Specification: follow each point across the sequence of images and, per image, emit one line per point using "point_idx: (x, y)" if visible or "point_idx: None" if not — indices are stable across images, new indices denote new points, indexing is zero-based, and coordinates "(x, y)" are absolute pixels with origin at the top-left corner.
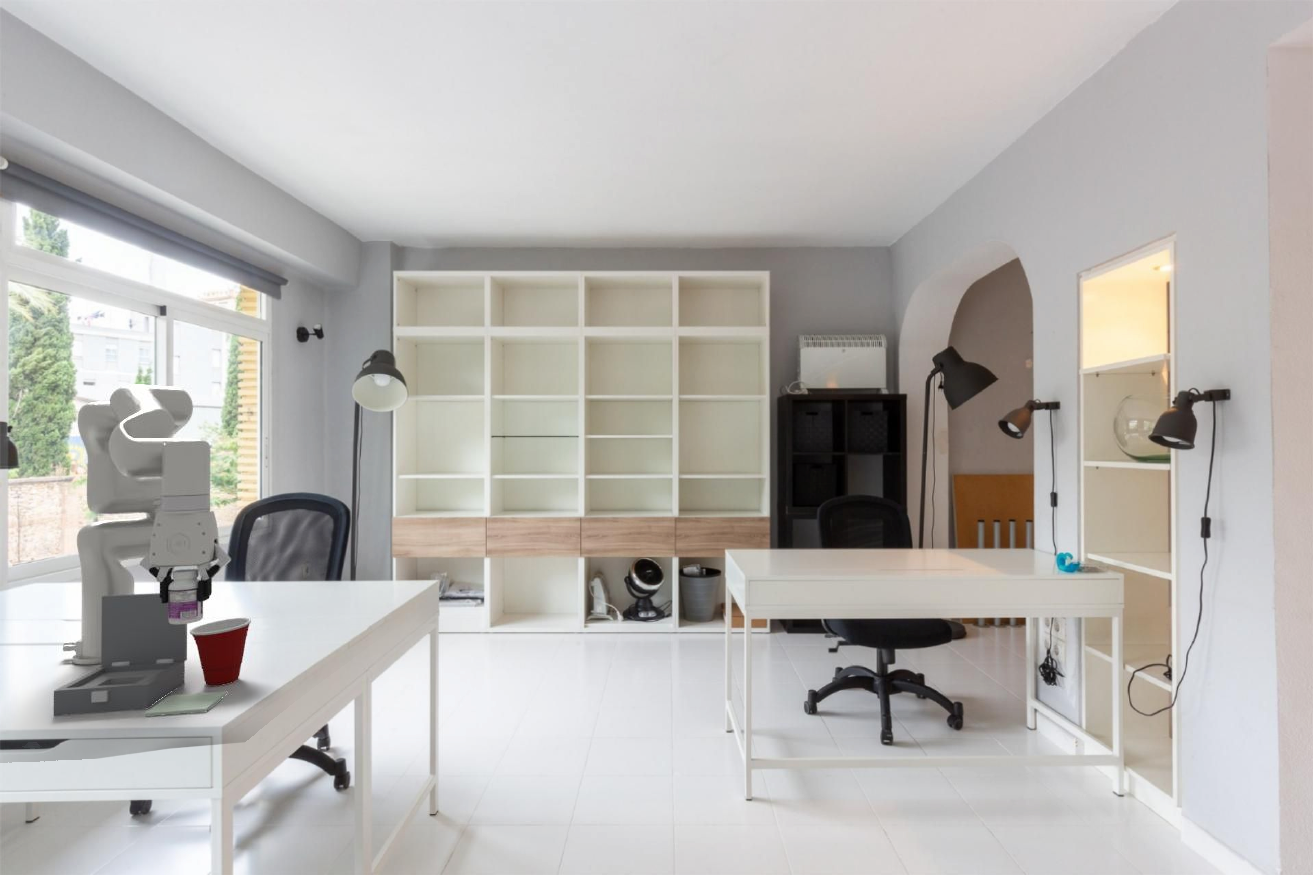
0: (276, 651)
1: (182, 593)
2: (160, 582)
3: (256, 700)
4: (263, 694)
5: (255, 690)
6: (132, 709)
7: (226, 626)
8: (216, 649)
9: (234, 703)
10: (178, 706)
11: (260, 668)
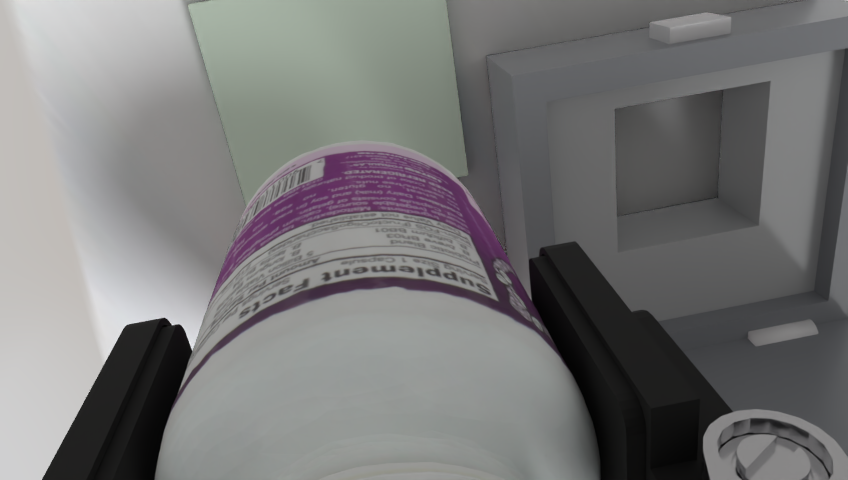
0: None
1: (294, 285)
2: (740, 435)
3: (61, 141)
4: (86, 211)
5: (161, 256)
6: (542, 47)
7: None
8: None
9: (138, 108)
10: (341, 40)
11: None
